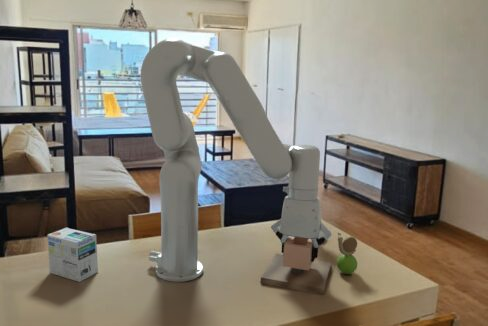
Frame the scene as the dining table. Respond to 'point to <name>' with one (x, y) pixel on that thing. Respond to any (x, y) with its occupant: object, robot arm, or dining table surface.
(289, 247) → the tan rectangular frame
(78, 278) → the light bulb box
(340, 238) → the snail figurine
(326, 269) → the hub plate
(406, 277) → the dining table surface
